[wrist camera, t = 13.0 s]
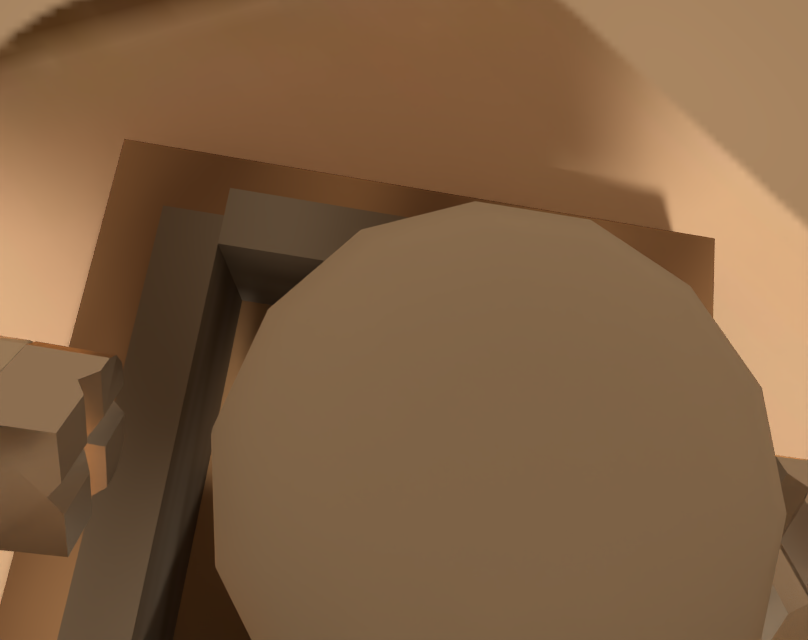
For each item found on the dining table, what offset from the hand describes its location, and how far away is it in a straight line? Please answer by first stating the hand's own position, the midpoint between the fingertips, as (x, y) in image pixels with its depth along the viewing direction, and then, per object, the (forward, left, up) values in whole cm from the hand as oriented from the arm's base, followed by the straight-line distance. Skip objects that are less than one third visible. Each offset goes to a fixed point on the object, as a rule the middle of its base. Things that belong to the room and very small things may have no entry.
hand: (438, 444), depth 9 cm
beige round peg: (0, +1, -8) cm, 8 cm away
